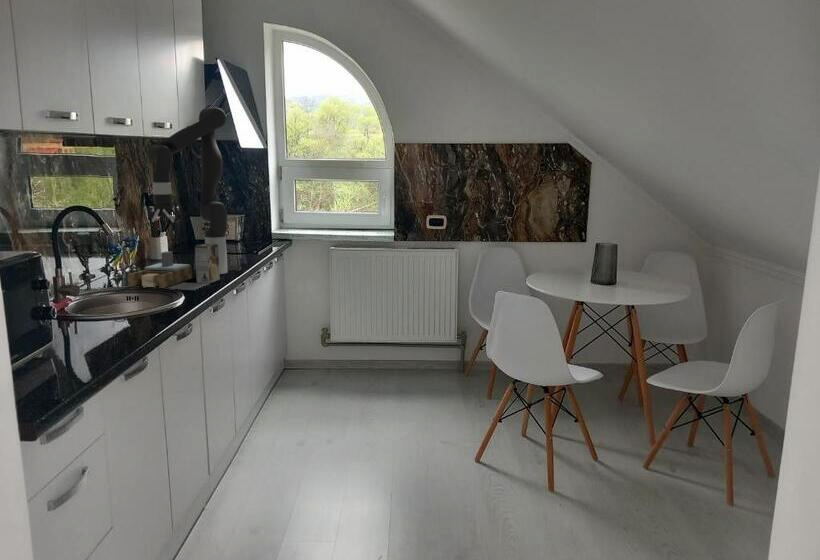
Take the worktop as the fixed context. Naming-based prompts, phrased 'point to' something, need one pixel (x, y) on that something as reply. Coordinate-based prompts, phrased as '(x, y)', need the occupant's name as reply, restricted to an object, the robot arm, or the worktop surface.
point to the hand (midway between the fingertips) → (165, 230)
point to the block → (150, 280)
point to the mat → (188, 286)
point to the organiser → (161, 277)
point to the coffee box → (207, 263)
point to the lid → (167, 263)
